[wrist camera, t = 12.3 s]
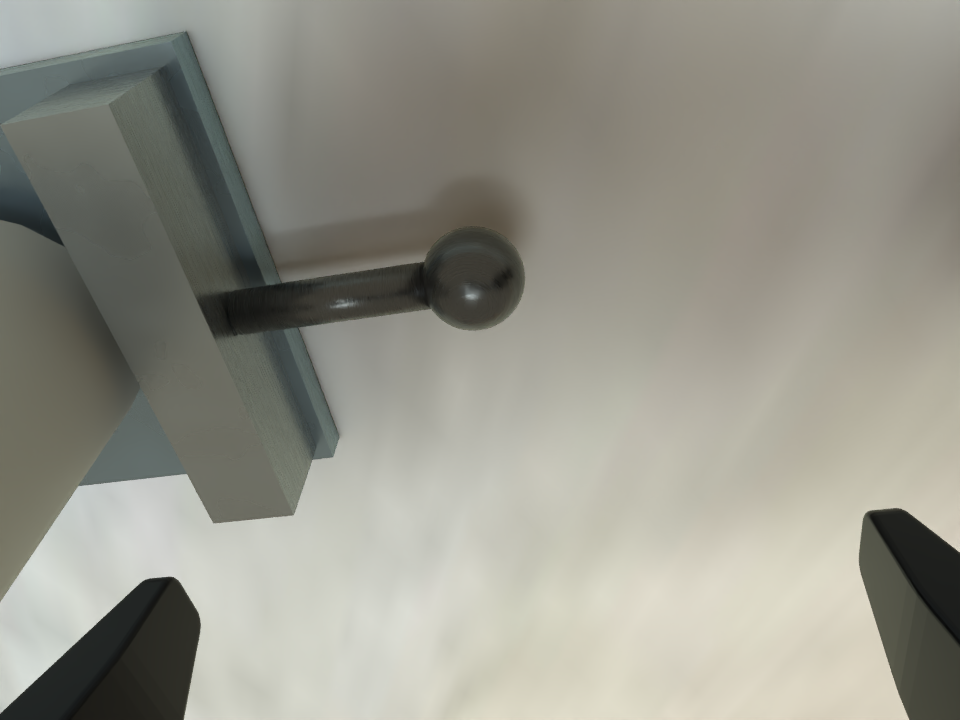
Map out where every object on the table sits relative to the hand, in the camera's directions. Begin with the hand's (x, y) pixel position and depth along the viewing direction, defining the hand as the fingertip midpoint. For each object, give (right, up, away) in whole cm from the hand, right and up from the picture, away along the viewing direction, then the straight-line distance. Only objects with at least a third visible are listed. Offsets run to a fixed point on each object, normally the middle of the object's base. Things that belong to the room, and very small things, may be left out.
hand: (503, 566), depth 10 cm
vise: (-10, +5, +13) cm, 17 cm away
